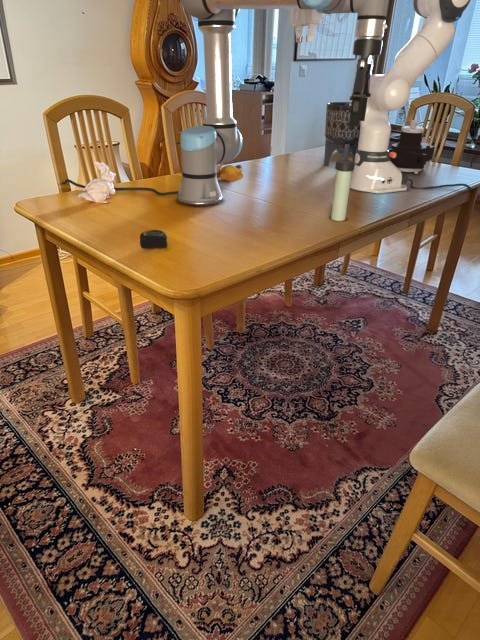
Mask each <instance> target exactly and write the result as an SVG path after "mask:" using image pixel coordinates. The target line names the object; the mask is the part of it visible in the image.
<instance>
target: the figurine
mask: <svg viewBox="0 0 480 640" xmlns="http://www.w3.org/2000/svg"><path fill="white" fill-rule="evenodd" d="M93 164H94V166H95V167H96V168H97V169H98V170H99V174H100V176H99V177H100V178H93V179H91V180H90V181H89V182H88V183H86V185H85V186H86V187H85V188H82V192H80V193H78V195H77V197H78V198H79V199H81V200H83V199H84V200H87V202H88V201H90V202H94V203H95V204H96V203H97V204H98V203H100V204H107V203H108V201H106V199H109V198H111V196H110V195H115V194H116V191H115V190H114V188H115V187H114V186H115V185H114V181H115V177H116V175H117V174H116V173H115V172H113V171H111V170H110V167H109V165H108V164H106V163H105V162H103V161H101V162H99V161H96V160H95V161H94V162H93Z"/></svg>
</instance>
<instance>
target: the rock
mask: <svg viewBox="0 0 480 640" xmlns="http://www.w3.org/2000/svg"><path fill="white" fill-rule="evenodd" d="M335 152H337V153H342V147H340V148H338V149H336V150H335ZM348 154H352V153H351V151H350V150H349V152H348Z"/></svg>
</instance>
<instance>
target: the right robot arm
mask: <svg viewBox="0 0 480 640" xmlns="http://www.w3.org/2000/svg"><path fill="white" fill-rule="evenodd" d="M412 1H413V3H412V4H413V10H414V12H415V14H416V15H417V16H418V17H420V18H422V19H426V20H425V22H424V24H423V26H422V27H421V29H420V30H418V31H417V32H416V34H415V35H413V37H411V38H410V40H409V41H408V42H407V43H406V44H405V45H404V46H403V47H402V48H401V49H400V50H399V51H398V52H397V53H396V55H395V58H394V62H393V64H392V66H391V67H390V68H389V69H388V71H386V73H384V74H377V73H374V74H373V73H372V74H371V78H370V88H369V91H370V92H369V93H371V96H370V97H368V100H367V107H366V114H365V120H364V121H360V135H359V142H358V148H357V149H356V155H355V167H354V170H353V171H352V175H351V183H350V189H352V190H355V191H359V192H367V193H372V194H386V193H387V194H388V193H393V192H394V193H395V192H404V191H408V186H406V185H408V183H409V182H410V184H409V187H410V188H411V189H416V190H418V189H419V190H431V189H441V188H446V187H461V186H462V187H466V188H467V189H468V190H472V187H471V186H470V185H469V184H466V183H452V184H451V183H450V184H449V183H448V184H442V185H441V184H440V185H433V186H425V187H415V186H414V181H413V179H411V178H409V176H408V174H406V173H402V171H400V170H399V169H398V168H397V167H396V166H395V165H394V164H393V163H392V162H391V161H390V157H392V158H395V157H396V156H397V154H395V152H390V151H388V149H389V145H390V139H391V135H392V134H391V133H392V126H391V123H390V122H389V112H392V111H397V110H400V109H402V108H403V107H405V105H406V104H407V103H408V101H409V99H410V97H411V89H412V88H413V86H414V85H415V83H416V82H417V80H418V79H419V78H420V76H422V74H424V72H425V71H426V70H427V69H429V67H430V66H431V65H432V64H433V63H434V62H435V61H436V60H437V59H438V58H439V57H440V55H442V53H443V52H444V51H445V50H446V49H447V48H448V46H449V45H450V43H451V42H452V40H453V39H454V37H455V33H456V27H455V24H454V23H455V22H456V21H458V20H460V19H461V18H462V17H463V14H464V11H466V9H467V8H468V6H469V5H470V2H471V0H412ZM323 19H324V13H318V12H317V10H316V9H289V23H290V27H293V28H294V32H295V42H296V44H298V43H300V44H302V43H303V38H304V36H303V30H304V29H303V28H304V27H307V34H306V37H305V42H306V43H313V41H314V35H315V32H316V30H317V25H321V24H322V22H323Z"/></svg>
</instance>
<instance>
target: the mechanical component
mask: <svg viewBox="0 0 480 640" xmlns="http://www.w3.org/2000/svg"><path fill="white" fill-rule="evenodd" d="M424 131H425V128H424V127H422V126H418V120H416V119H410V123H409V125H403V126H401V129H400V134H399V140H398V143H392V144H391V148H388V151H390V152H395V154H397V156H396V157H395V158H392V157H390V161H391V162H392V163H393V164H394V165H395V166H396V167H397V168H398V169H399V170H400V171H401V172H406V173H413V174H415V175H418V174H419V172H421V171H423V169H425V168H426V167H427V162H429V161H432V160H433V157H434V155H435V148H436V146H435V145H431V144H430V143H428V142H422V139H423V134H424Z"/></svg>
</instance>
